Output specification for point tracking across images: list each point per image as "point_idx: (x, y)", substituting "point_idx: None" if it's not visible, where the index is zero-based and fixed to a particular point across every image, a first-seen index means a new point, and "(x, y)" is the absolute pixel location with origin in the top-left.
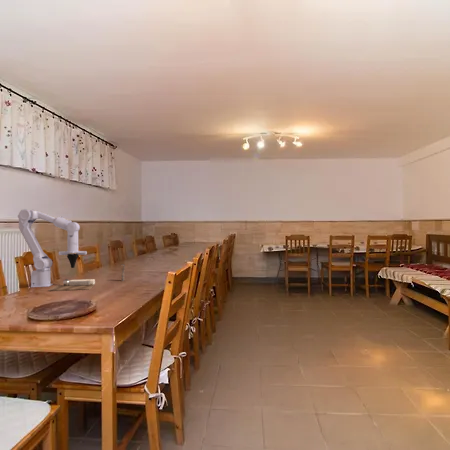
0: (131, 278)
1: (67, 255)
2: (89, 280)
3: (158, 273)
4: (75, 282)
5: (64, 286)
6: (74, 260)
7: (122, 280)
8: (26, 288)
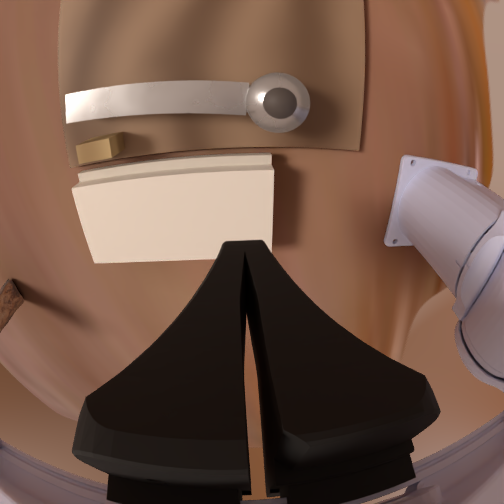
0: (39, 349)
1: (410, 446)
2: (103, 205)
3: (41, 398)
4: (183, 81)
5: (282, 68)
6: (183, 325)
7: (7, 281)
8: (486, 130)
